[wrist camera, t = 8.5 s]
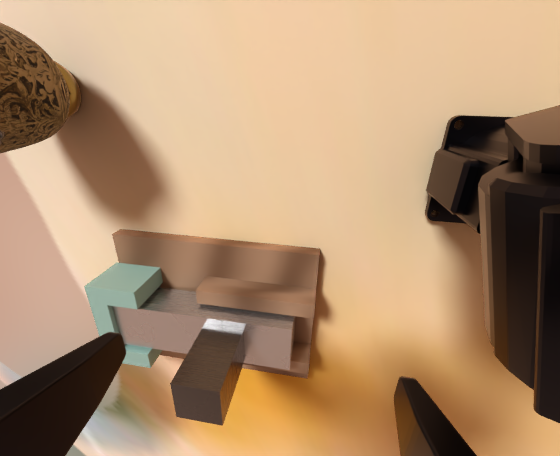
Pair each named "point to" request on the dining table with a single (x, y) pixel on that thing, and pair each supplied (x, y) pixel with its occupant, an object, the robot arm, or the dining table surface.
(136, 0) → the dining table surface
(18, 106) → the cup
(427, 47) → the dining table surface
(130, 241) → the slide base
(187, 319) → the grey t-shaped block
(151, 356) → the socket block
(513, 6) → the dining table surface
